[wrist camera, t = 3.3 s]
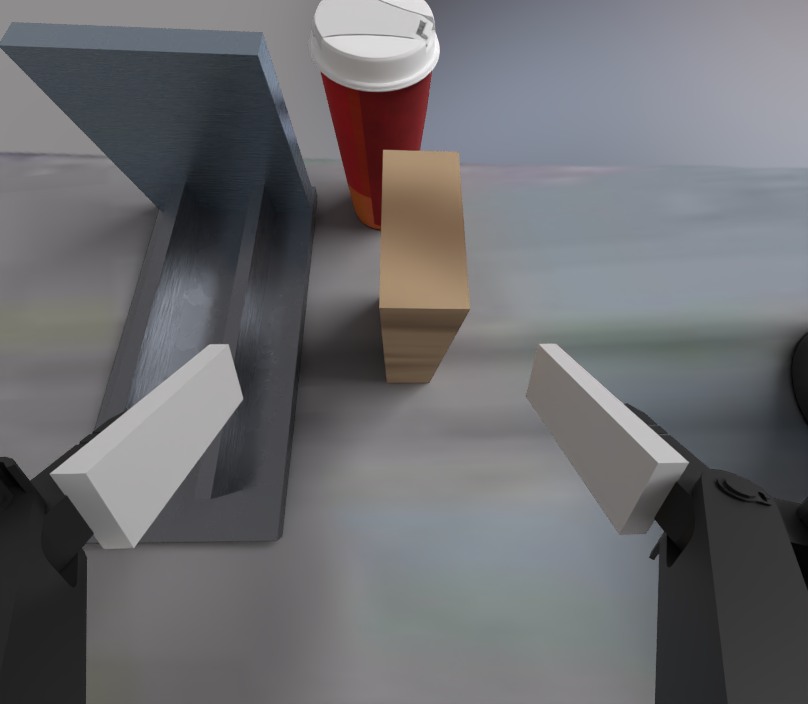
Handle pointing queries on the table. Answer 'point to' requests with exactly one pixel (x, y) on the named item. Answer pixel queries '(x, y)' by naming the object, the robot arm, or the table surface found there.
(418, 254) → the door panel
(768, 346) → the table surface
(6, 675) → the robot arm
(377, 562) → the table surface
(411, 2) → the paper cup
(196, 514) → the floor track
